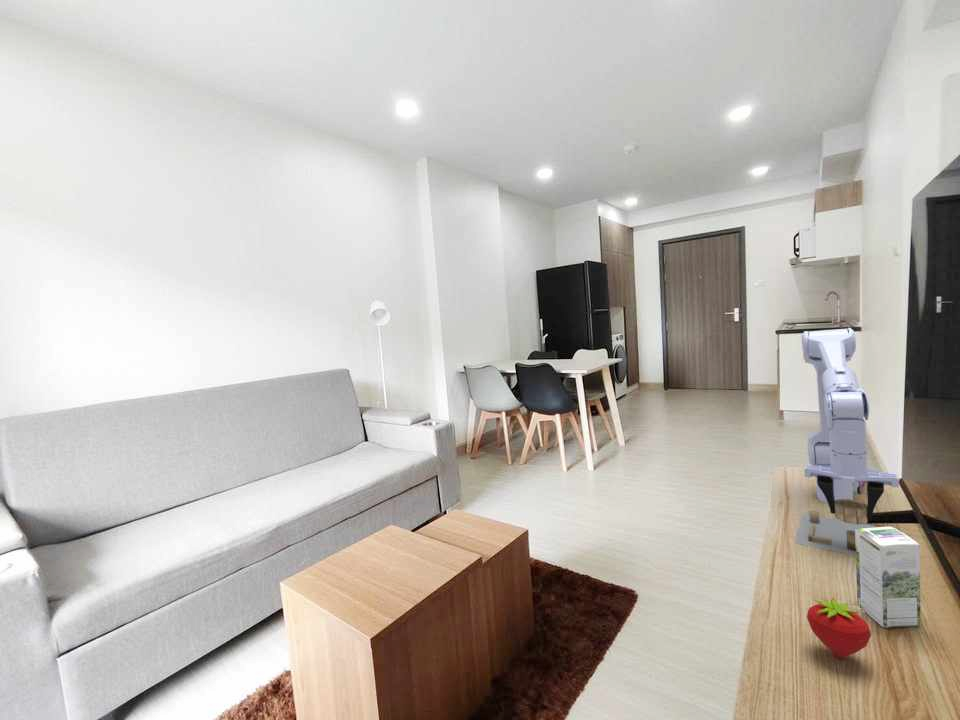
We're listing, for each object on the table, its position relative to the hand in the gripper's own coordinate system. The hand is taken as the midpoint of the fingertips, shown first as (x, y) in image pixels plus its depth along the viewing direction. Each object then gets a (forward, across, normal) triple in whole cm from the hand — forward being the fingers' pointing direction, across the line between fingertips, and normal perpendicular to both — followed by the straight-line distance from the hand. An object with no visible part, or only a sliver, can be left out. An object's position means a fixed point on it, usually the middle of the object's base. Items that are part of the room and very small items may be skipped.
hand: (851, 514), depth 91 cm
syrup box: (+8, +5, -20) cm, 22 cm away
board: (+8, -3, +5) cm, 10 cm away
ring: (+1, 0, 0) cm, 1 cm away
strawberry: (+8, -1, -34) cm, 35 cm away
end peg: (+7, 0, 0) cm, 7 cm away
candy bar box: (+8, -1, +36) cm, 37 cm away
